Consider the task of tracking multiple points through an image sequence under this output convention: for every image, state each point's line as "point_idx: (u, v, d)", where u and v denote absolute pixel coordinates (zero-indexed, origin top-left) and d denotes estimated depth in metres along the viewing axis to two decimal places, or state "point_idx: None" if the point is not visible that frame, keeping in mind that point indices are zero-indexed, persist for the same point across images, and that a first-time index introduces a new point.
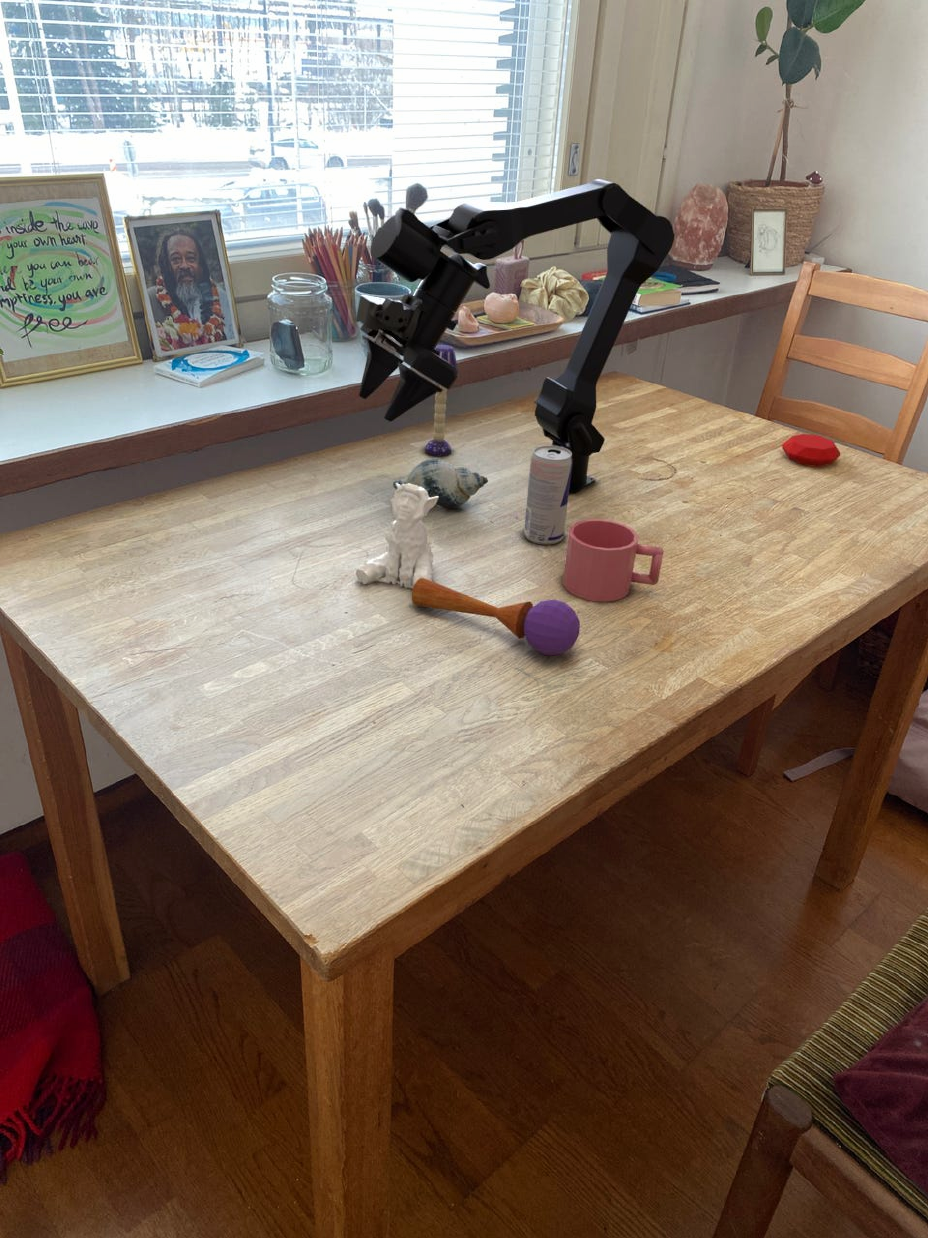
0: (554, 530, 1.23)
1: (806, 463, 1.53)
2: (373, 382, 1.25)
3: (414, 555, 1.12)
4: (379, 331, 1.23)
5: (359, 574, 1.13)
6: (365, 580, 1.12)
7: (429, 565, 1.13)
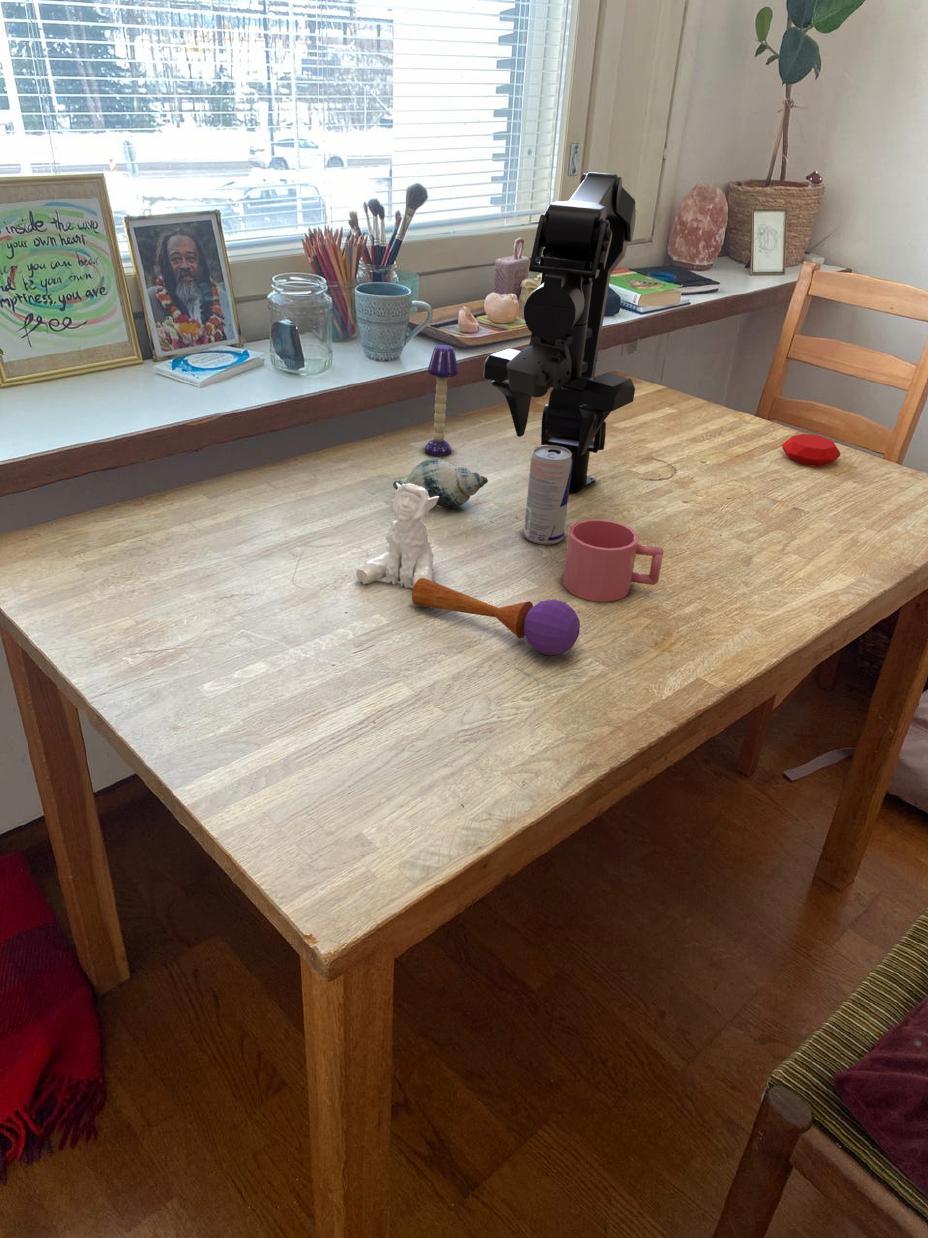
0: (554, 530, 1.23)
1: (806, 463, 1.53)
2: (524, 416, 1.21)
3: (414, 555, 1.12)
4: None
5: (359, 574, 1.13)
6: (366, 580, 1.12)
7: (429, 565, 1.13)
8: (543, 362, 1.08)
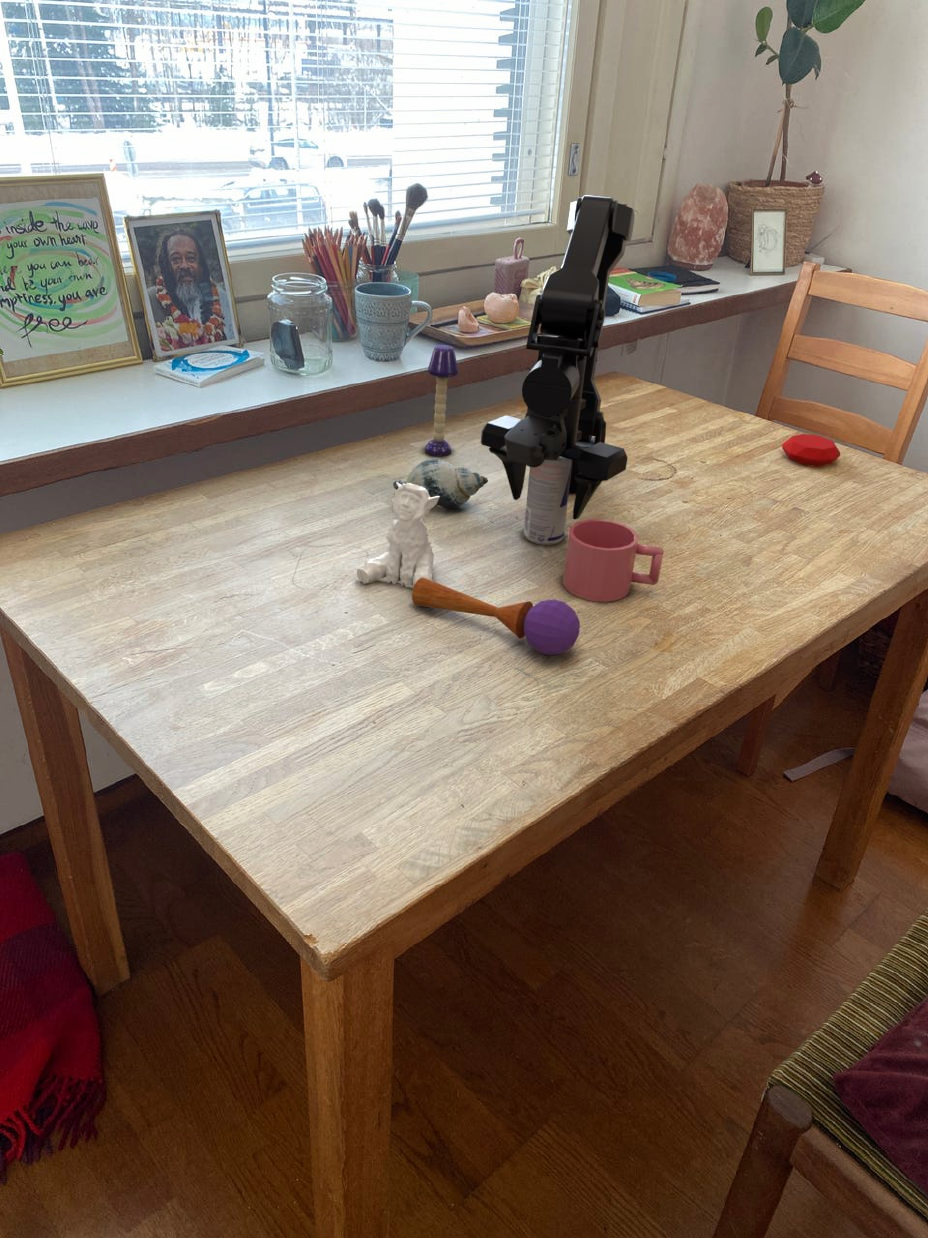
0: (553, 531, 1.23)
1: (806, 463, 1.53)
2: (520, 481, 1.25)
3: (415, 555, 1.12)
4: None
5: (359, 573, 1.13)
6: (366, 580, 1.12)
7: (430, 565, 1.13)
8: (540, 434, 1.13)
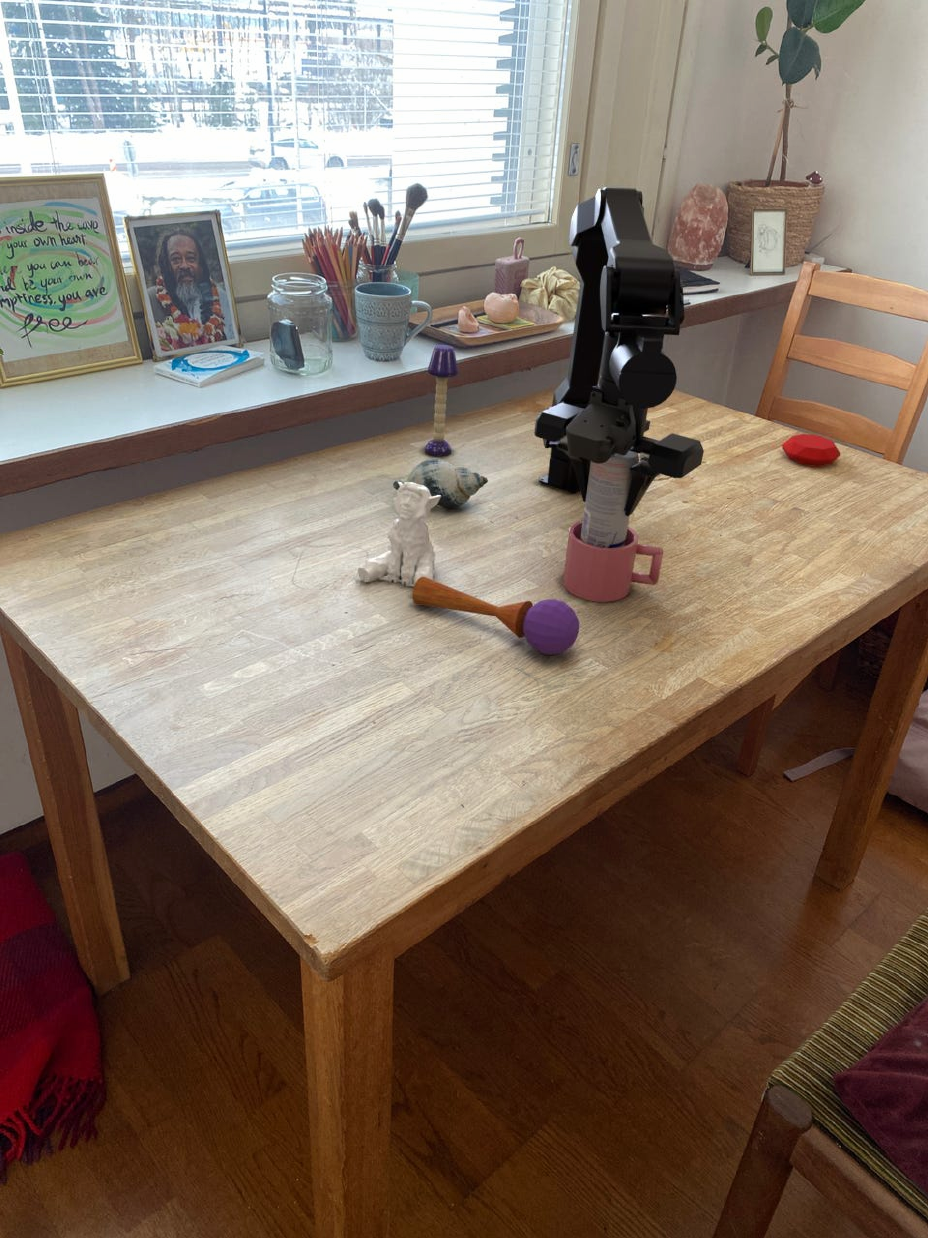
0: (615, 537, 1.10)
1: (806, 463, 1.53)
2: None
3: (416, 554, 1.12)
4: None
5: (360, 572, 1.13)
6: (367, 578, 1.13)
7: (431, 564, 1.13)
8: (606, 426, 0.99)
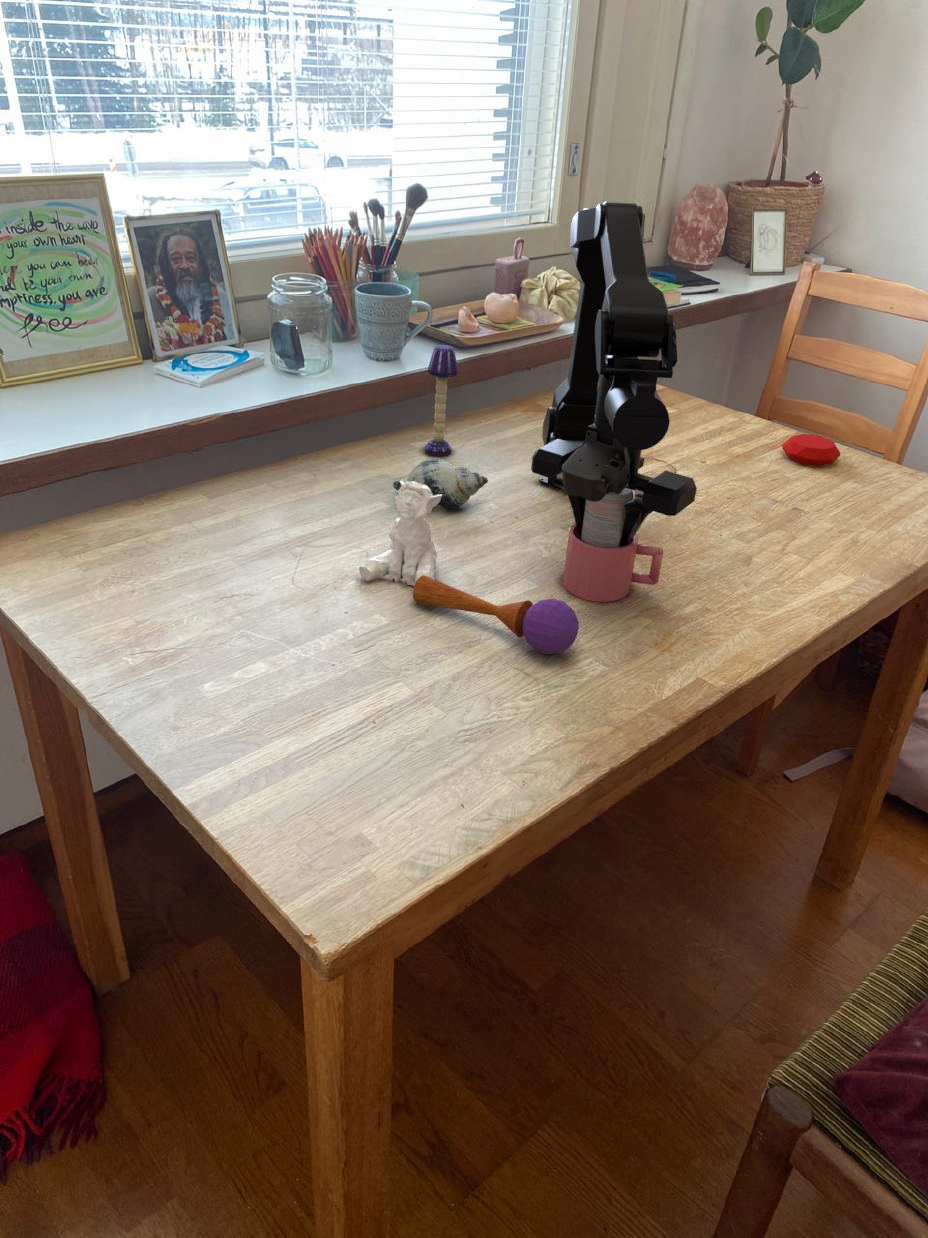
0: None
1: (806, 463, 1.53)
2: None
3: (417, 553, 1.12)
4: None
5: (362, 571, 1.13)
6: (368, 577, 1.13)
7: (432, 563, 1.13)
8: (601, 465, 1.01)
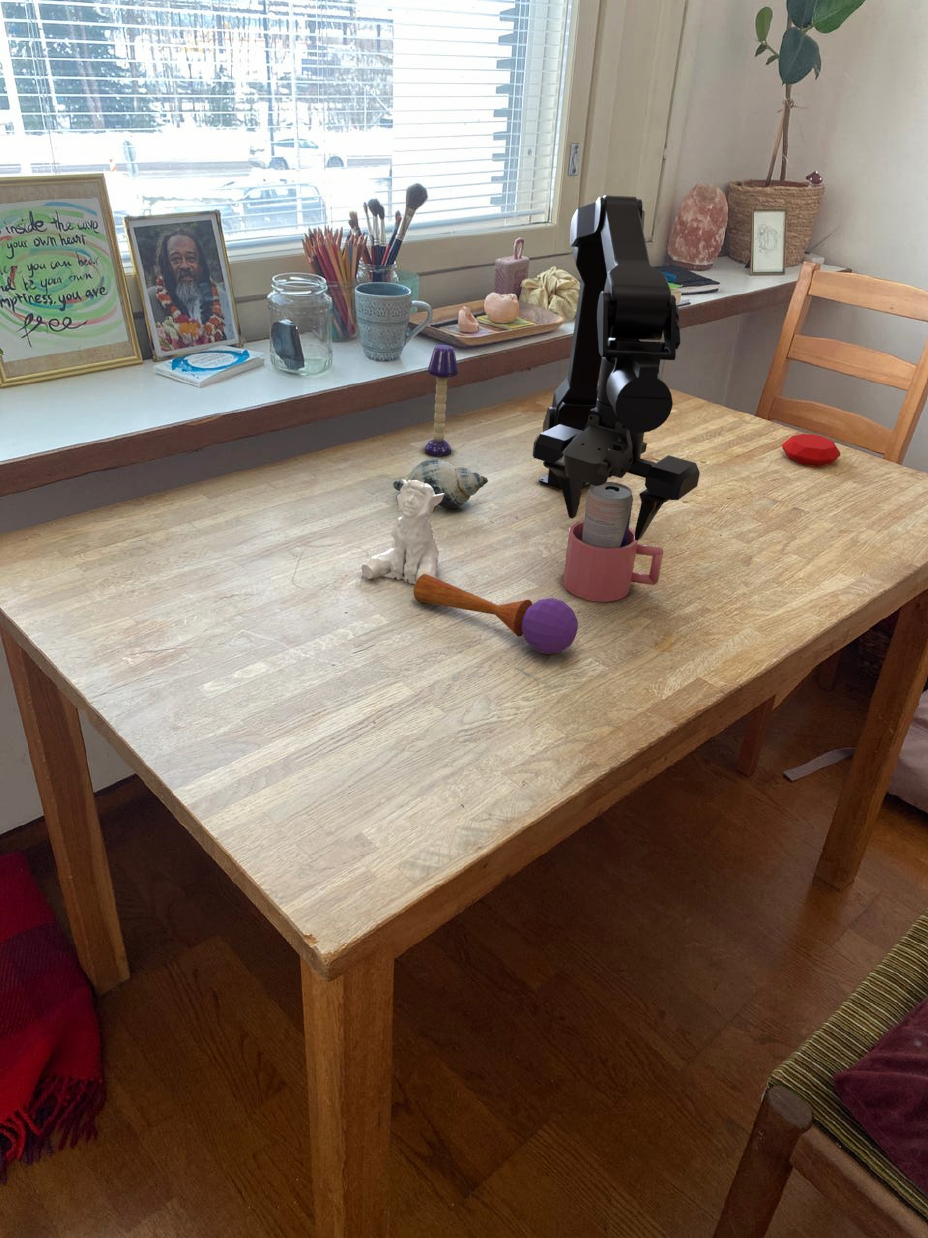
0: None
1: (806, 463, 1.53)
2: (576, 497, 1.13)
3: (419, 551, 1.13)
4: None
5: (364, 569, 1.14)
6: (370, 575, 1.13)
7: (434, 562, 1.14)
8: (604, 449, 1.00)
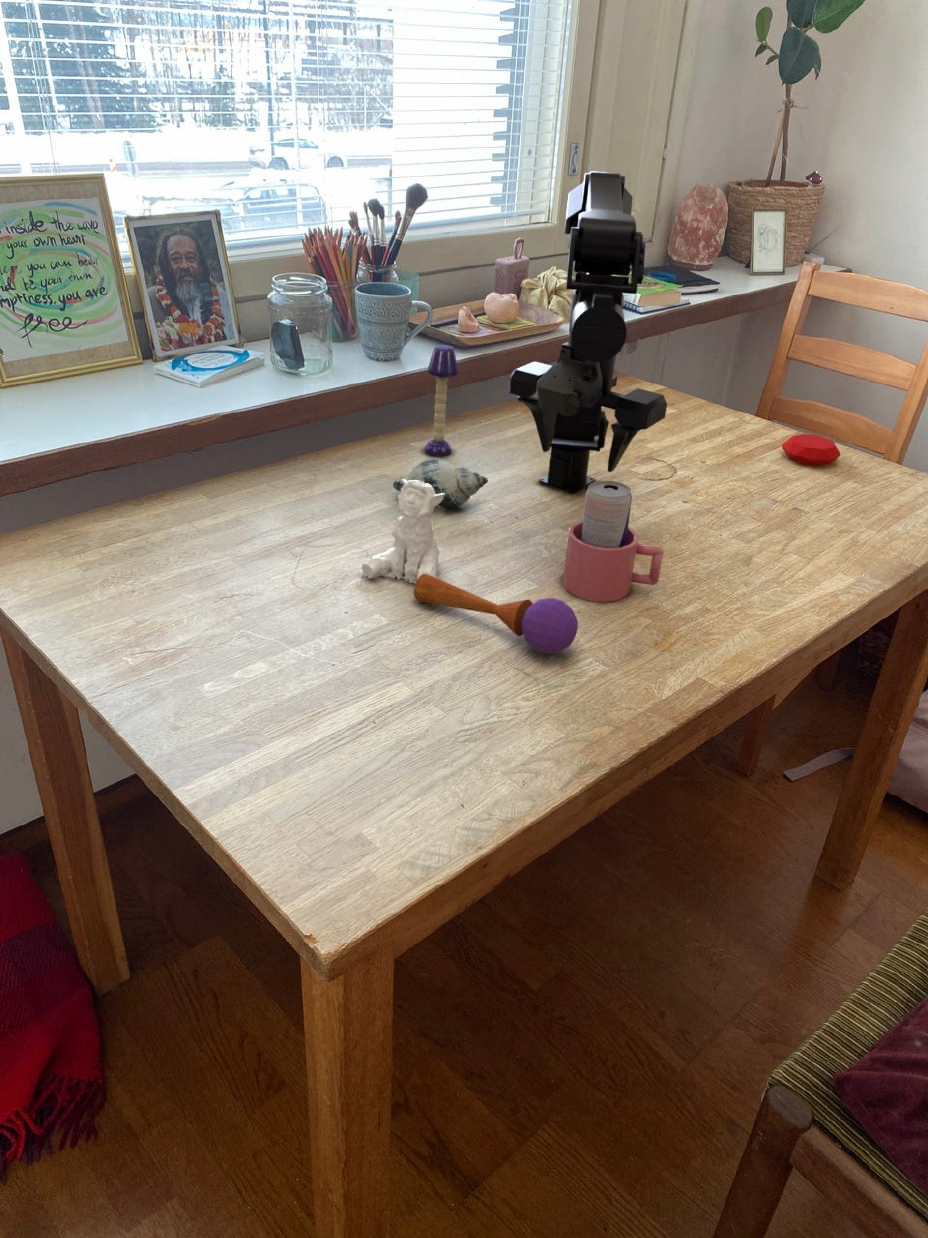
0: None
1: (806, 463, 1.53)
2: (550, 431, 1.18)
3: (419, 551, 1.13)
4: None
5: (364, 568, 1.14)
6: (371, 574, 1.13)
7: (434, 561, 1.14)
8: (574, 380, 1.05)
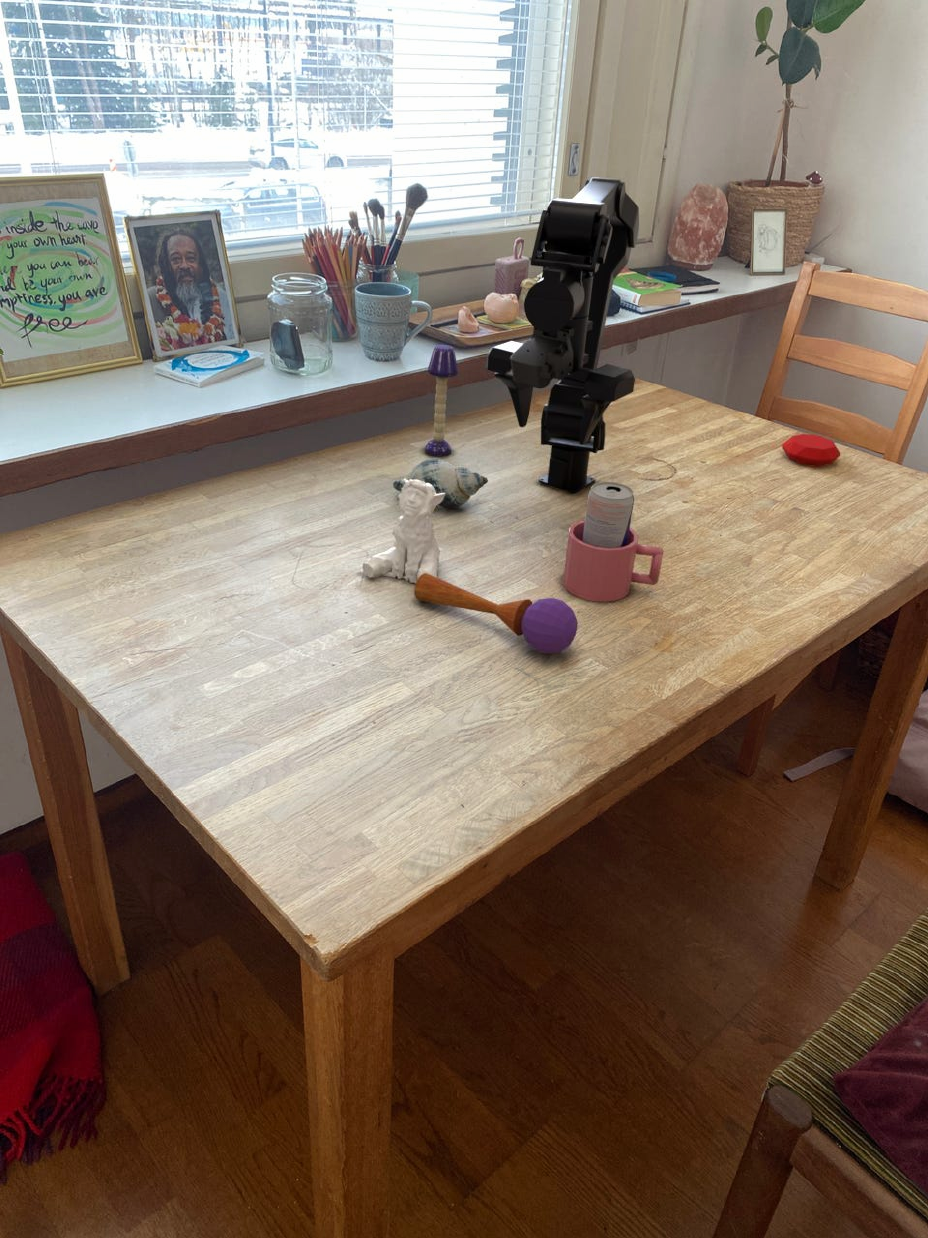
0: None
1: (806, 463, 1.53)
2: (526, 407, 1.24)
3: (420, 550, 1.13)
4: None
5: (365, 568, 1.14)
6: (371, 574, 1.13)
7: (435, 561, 1.14)
8: (546, 354, 1.11)
